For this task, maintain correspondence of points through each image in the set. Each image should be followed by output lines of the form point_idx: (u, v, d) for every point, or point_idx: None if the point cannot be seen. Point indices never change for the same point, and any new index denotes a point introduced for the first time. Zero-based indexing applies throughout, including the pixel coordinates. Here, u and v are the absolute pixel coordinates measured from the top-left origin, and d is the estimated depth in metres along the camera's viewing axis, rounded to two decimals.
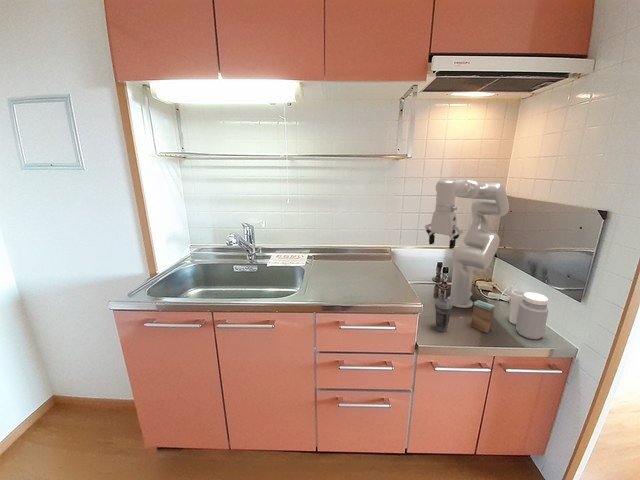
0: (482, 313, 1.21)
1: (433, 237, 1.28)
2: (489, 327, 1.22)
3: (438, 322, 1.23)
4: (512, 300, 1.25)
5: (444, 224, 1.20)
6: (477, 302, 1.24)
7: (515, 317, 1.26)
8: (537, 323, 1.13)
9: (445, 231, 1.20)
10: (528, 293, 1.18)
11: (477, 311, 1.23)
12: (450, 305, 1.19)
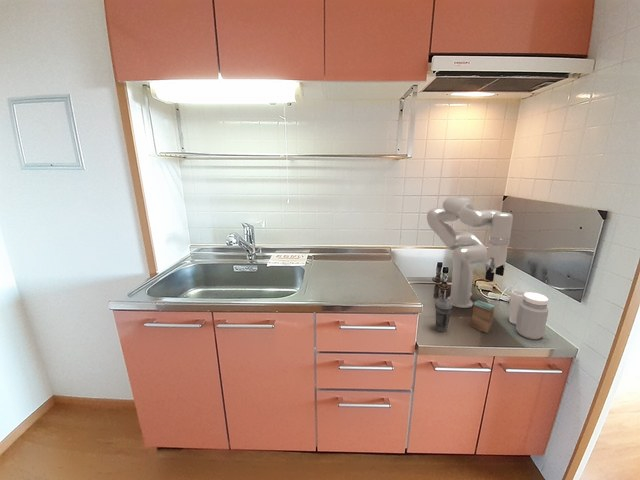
0: (482, 313, 1.21)
1: None
2: (489, 327, 1.22)
3: (438, 322, 1.23)
4: (512, 300, 1.25)
5: (504, 255, 1.20)
6: (477, 302, 1.24)
7: (515, 317, 1.26)
8: (537, 323, 1.13)
9: (504, 261, 1.22)
10: (528, 293, 1.18)
11: (477, 311, 1.23)
12: (450, 305, 1.19)
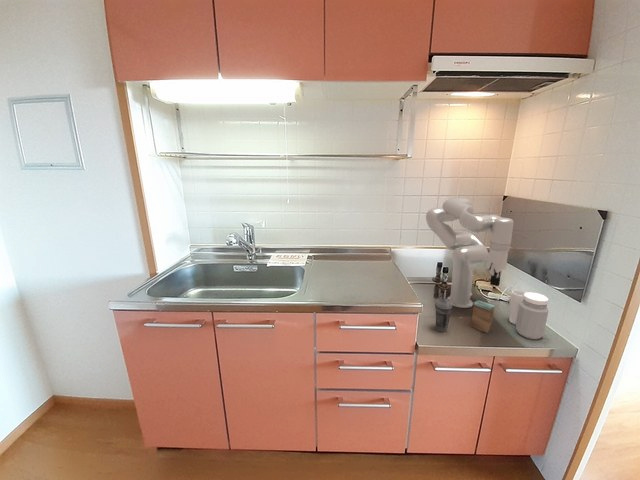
0: (482, 313, 1.21)
1: None
2: (489, 327, 1.22)
3: (438, 322, 1.23)
4: (512, 300, 1.25)
5: (505, 260, 1.21)
6: (477, 302, 1.24)
7: (515, 317, 1.26)
8: (537, 323, 1.13)
9: (504, 266, 1.22)
10: (528, 293, 1.18)
11: (477, 311, 1.23)
12: (450, 305, 1.19)
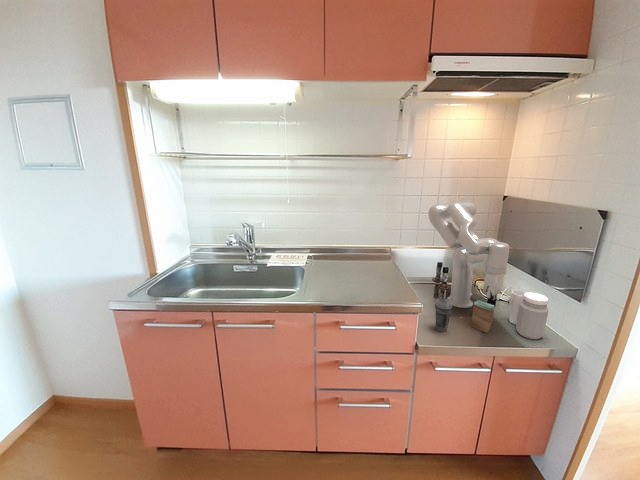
0: (482, 313, 1.21)
1: None
2: (489, 327, 1.22)
3: (438, 322, 1.23)
4: (512, 300, 1.25)
5: (501, 283, 1.24)
6: (477, 302, 1.24)
7: (515, 317, 1.26)
8: (537, 323, 1.13)
9: (500, 289, 1.25)
10: (528, 293, 1.18)
11: (477, 311, 1.23)
12: (450, 305, 1.19)
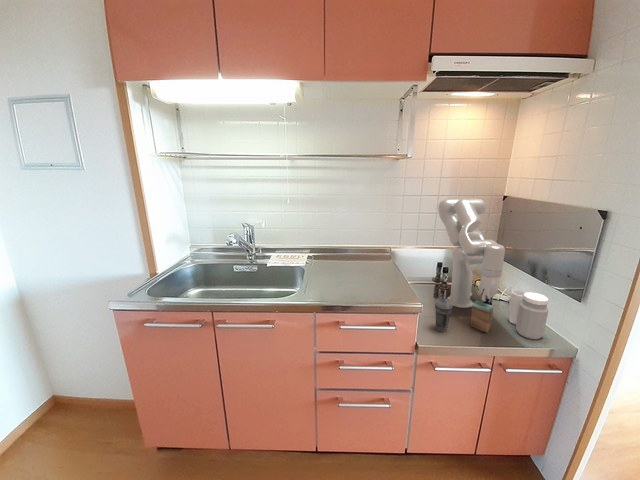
0: (480, 314, 1.21)
1: None
2: (489, 327, 1.21)
3: (438, 322, 1.23)
4: (512, 300, 1.25)
5: (497, 285, 1.21)
6: (475, 303, 1.23)
7: (515, 317, 1.26)
8: (537, 323, 1.13)
9: (496, 292, 1.22)
10: (528, 293, 1.18)
11: (476, 312, 1.22)
12: (450, 305, 1.19)
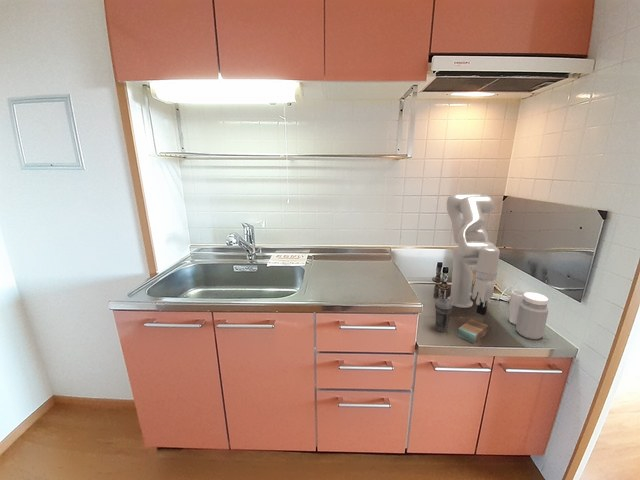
0: None
1: None
2: (485, 331, 1.19)
3: (438, 322, 1.23)
4: (512, 300, 1.25)
5: (491, 289, 1.18)
6: (460, 334, 1.19)
7: (515, 317, 1.26)
8: (537, 323, 1.13)
9: (491, 295, 1.19)
10: (528, 293, 1.18)
11: None
12: (450, 305, 1.19)
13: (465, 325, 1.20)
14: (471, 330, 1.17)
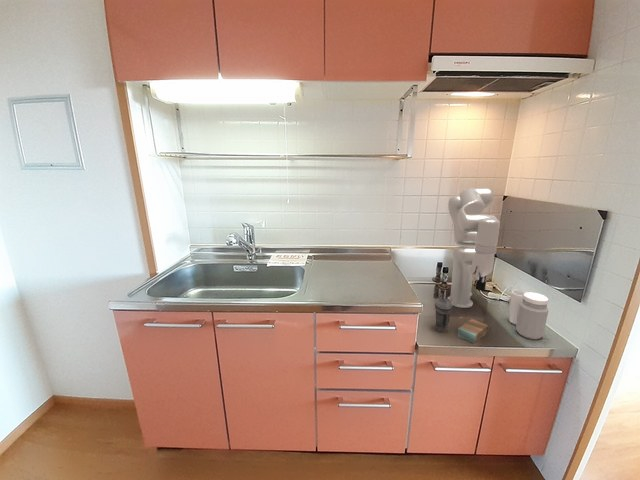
0: None
1: None
2: (485, 331, 1.19)
3: (438, 322, 1.23)
4: (512, 300, 1.25)
5: (491, 263, 1.13)
6: (460, 334, 1.19)
7: (515, 317, 1.26)
8: (537, 323, 1.13)
9: (490, 270, 1.14)
10: (528, 293, 1.18)
11: None
12: (450, 305, 1.19)
13: (465, 325, 1.20)
14: (471, 330, 1.17)
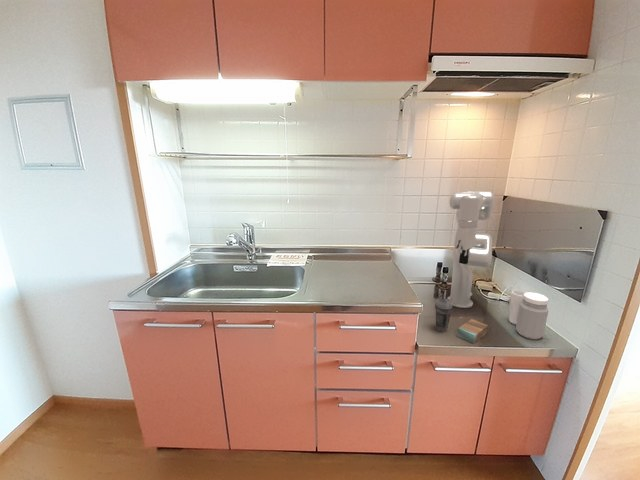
0: None
1: None
2: (485, 331, 1.19)
3: (438, 322, 1.23)
4: (512, 300, 1.25)
5: (473, 238, 1.21)
6: (460, 334, 1.19)
7: (515, 317, 1.26)
8: (537, 323, 1.13)
9: (473, 244, 1.22)
10: (528, 293, 1.18)
11: None
12: (450, 305, 1.19)
13: (465, 325, 1.20)
14: (471, 330, 1.17)
